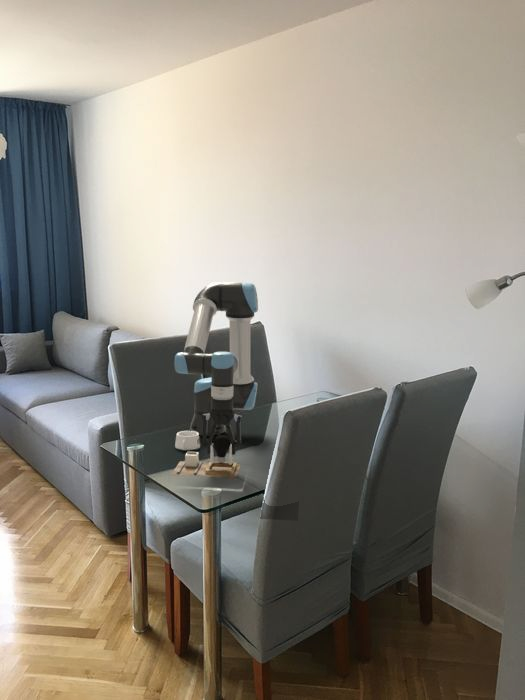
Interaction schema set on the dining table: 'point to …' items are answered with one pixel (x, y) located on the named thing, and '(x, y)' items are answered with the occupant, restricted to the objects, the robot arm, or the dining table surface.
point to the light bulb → (221, 447)
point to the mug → (187, 440)
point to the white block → (192, 459)
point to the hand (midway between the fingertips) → (221, 462)
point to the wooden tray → (208, 469)
